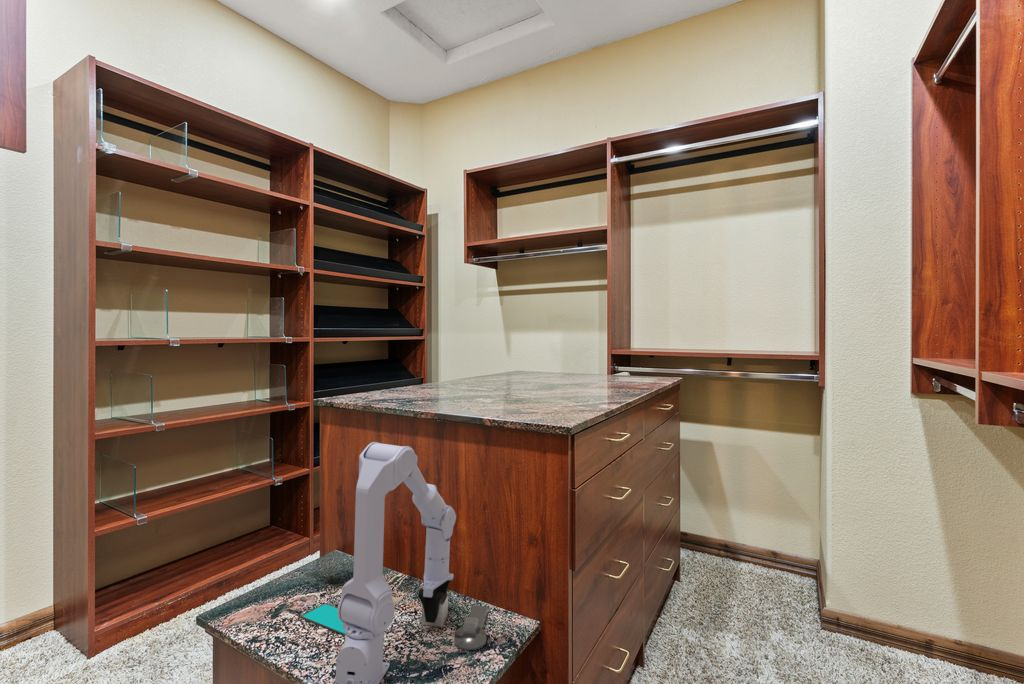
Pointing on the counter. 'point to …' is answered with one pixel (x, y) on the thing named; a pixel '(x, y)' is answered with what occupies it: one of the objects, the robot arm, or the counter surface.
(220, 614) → the counter surface
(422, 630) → the counter surface
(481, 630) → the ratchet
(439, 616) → the brushed metal cube
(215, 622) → the counter surface
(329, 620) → the smartphone
